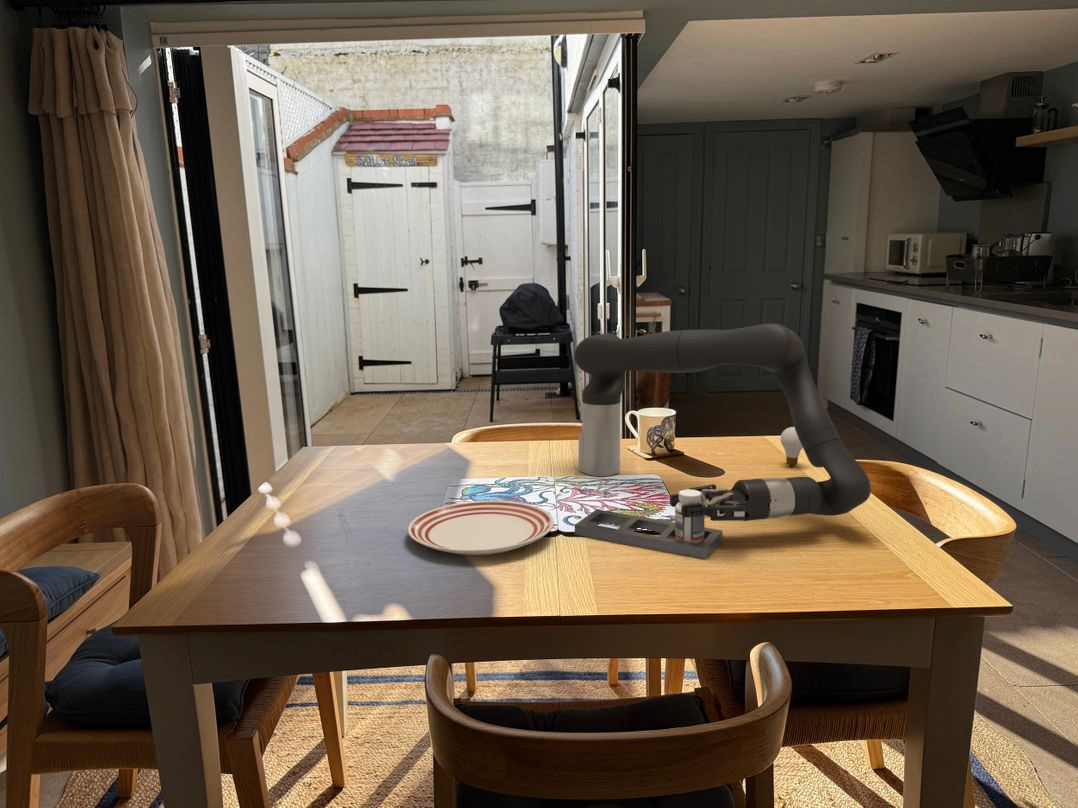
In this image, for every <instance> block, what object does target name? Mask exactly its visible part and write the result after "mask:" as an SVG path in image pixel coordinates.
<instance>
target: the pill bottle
mask: <svg viewBox="0 0 1078 808" xmlns="http://www.w3.org/2000/svg"><path fill="white" fill-rule="evenodd" d="M678 494H679V501H680V502H679V503H677V504H676V507H674V509H675V510H674V511H675V512H674V513H675V514H674V522H675V539H676V540H682V541H687V542H693V543H699V544H701V543H702V542H703V540H704V527H705V517H703V515H702V516H697V517H686V518H685V517H683V516H682V515H681V507H682V505H684V504H696V503H700V501H701V492H699V491H697V490H689V489H682V490H680V491H678Z"/></svg>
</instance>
